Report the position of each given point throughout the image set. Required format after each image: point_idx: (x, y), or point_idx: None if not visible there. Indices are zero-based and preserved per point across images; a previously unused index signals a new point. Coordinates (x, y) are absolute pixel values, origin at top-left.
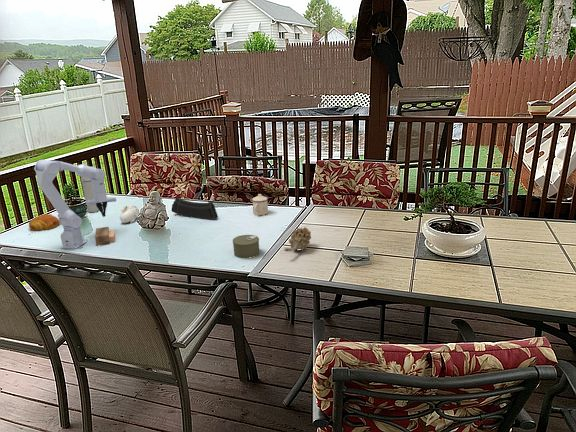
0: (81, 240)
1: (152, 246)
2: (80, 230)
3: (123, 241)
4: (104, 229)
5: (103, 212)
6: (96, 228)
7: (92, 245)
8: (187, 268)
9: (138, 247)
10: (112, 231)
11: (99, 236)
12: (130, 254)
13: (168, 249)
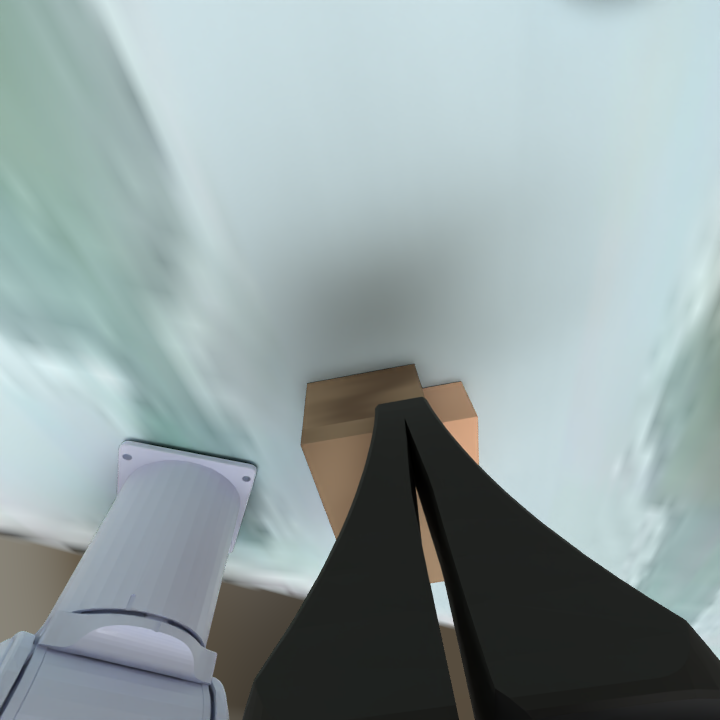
0: (234, 528)
1: (662, 568)
2: (211, 601)
3: (522, 495)
4: None
5: (432, 537)
6: (307, 447)
7: (322, 517)
8: None
9: None
10: (464, 446)
11: None
12: None
13: (714, 597)
